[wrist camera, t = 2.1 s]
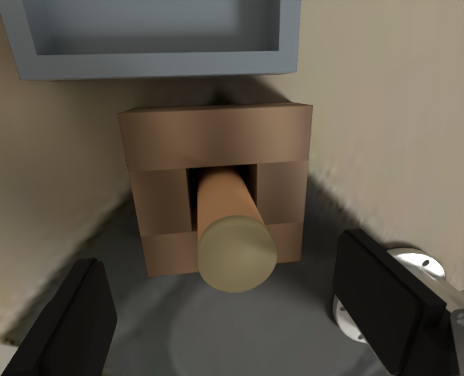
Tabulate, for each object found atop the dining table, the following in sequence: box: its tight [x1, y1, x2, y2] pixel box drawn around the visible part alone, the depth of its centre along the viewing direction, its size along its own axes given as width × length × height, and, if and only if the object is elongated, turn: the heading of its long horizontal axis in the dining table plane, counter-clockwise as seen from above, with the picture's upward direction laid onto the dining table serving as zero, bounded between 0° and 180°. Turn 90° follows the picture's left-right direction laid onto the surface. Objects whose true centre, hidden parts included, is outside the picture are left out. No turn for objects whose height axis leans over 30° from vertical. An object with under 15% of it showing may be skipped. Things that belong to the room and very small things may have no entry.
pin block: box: [118, 102, 313, 277], centre depth 20 cm, size 12×12×4 cm
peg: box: [197, 165, 277, 292], centre depth 17 cm, size 4×4×11 cm
